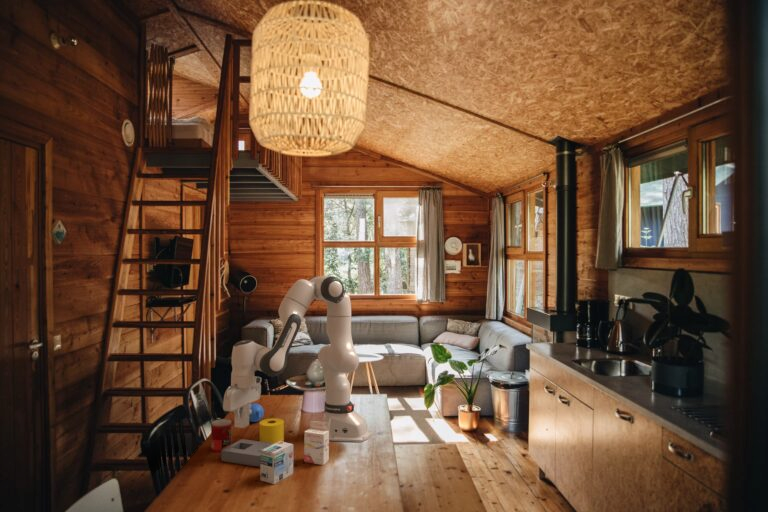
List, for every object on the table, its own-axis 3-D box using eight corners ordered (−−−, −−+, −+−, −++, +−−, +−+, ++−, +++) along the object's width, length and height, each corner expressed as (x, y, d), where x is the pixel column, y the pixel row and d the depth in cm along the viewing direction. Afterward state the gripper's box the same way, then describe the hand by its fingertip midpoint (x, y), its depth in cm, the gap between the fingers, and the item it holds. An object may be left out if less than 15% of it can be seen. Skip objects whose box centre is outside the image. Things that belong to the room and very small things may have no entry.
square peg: (249, 425, 193) (249, 402, 193) (243, 428, 189) (243, 404, 189) (240, 423, 194) (240, 401, 194) (234, 426, 190) (234, 403, 191)
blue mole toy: (234, 422, 234) (234, 404, 234) (256, 416, 242) (256, 399, 242) (245, 428, 225) (245, 409, 225) (268, 422, 233) (268, 405, 233)
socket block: (284, 455, 193) (284, 444, 193) (266, 467, 180) (266, 457, 181) (241, 448, 199) (241, 439, 199) (221, 460, 187) (221, 450, 187)
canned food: (225, 452, 195) (225, 425, 195) (207, 451, 197) (207, 424, 197) (234, 446, 202) (235, 419, 203) (217, 444, 204) (217, 418, 204)
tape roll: (272, 438, 211) (272, 416, 212) (288, 443, 206) (288, 421, 206) (254, 445, 203) (254, 422, 203) (270, 450, 197) (270, 427, 198)
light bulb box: (273, 485, 166) (274, 453, 167) (259, 480, 170) (259, 449, 170) (294, 473, 176) (294, 443, 176) (280, 469, 179) (280, 440, 179)
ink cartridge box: (303, 462, 186) (303, 423, 186) (309, 457, 190) (309, 419, 191) (323, 465, 183) (323, 426, 183) (329, 460, 187) (329, 422, 188)
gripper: (233, 388, 181) (232, 425, 181) (263, 377, 201) (263, 410, 200) (219, 386, 183) (218, 423, 183) (250, 375, 203) (250, 409, 202)
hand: (242, 416), depth 192 cm, fingers closed on square peg, 4 cm apart
